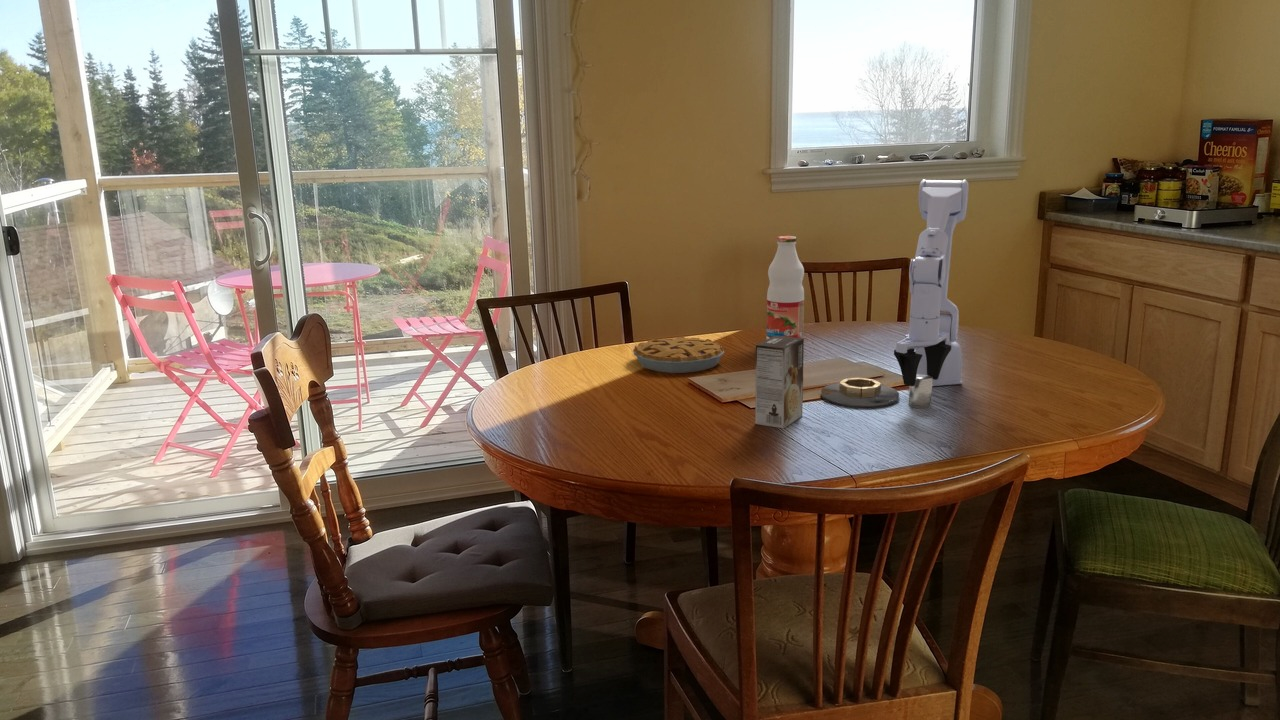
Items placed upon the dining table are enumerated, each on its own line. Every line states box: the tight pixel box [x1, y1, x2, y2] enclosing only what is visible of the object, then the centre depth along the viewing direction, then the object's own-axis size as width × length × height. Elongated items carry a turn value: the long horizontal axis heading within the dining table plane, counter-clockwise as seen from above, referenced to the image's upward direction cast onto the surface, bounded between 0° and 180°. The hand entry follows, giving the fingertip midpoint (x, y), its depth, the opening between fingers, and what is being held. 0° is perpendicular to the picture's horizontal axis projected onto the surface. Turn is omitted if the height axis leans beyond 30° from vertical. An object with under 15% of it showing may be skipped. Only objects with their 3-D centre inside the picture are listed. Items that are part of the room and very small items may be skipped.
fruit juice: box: [766, 235, 805, 340], centre depth 245 cm, size 9×9×28 cm
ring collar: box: [820, 377, 900, 409], centre depth 202 cm, size 16×16×3 cm
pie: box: [633, 336, 725, 374], centre depth 233 cm, size 22×22×5 cm
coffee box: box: [754, 336, 805, 429], centre depth 186 cm, size 9×6×16 cm
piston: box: [908, 374, 933, 410], centre depth 195 cm, size 4×4×6 cm
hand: (921, 381), depth 195 cm, fingers open, 7 cm apart
